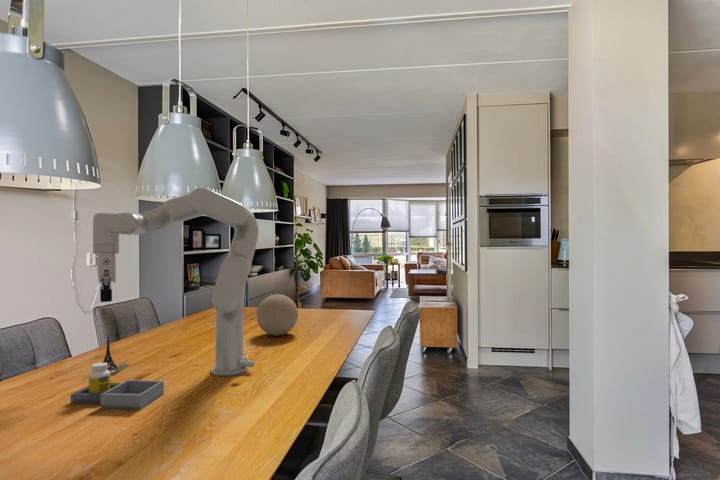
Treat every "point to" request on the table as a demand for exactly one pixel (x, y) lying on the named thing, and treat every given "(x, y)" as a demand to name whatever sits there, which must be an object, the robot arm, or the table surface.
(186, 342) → the table surface
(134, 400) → the tray
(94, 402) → the socket collar
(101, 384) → the supplement bottle
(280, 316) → the decorative sphere
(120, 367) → the eiffel tower figurine
